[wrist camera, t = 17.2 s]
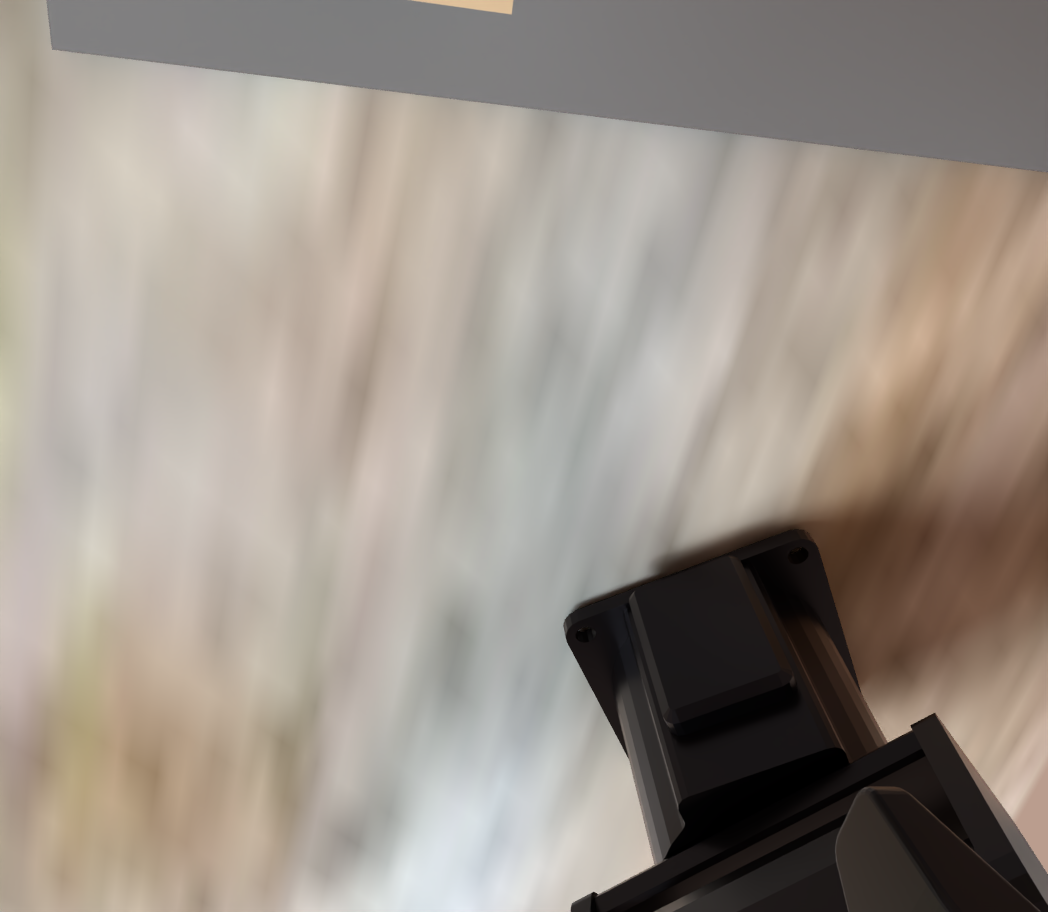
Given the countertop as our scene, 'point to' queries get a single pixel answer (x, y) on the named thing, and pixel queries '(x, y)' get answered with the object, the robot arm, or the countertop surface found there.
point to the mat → (642, 61)
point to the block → (477, 4)
